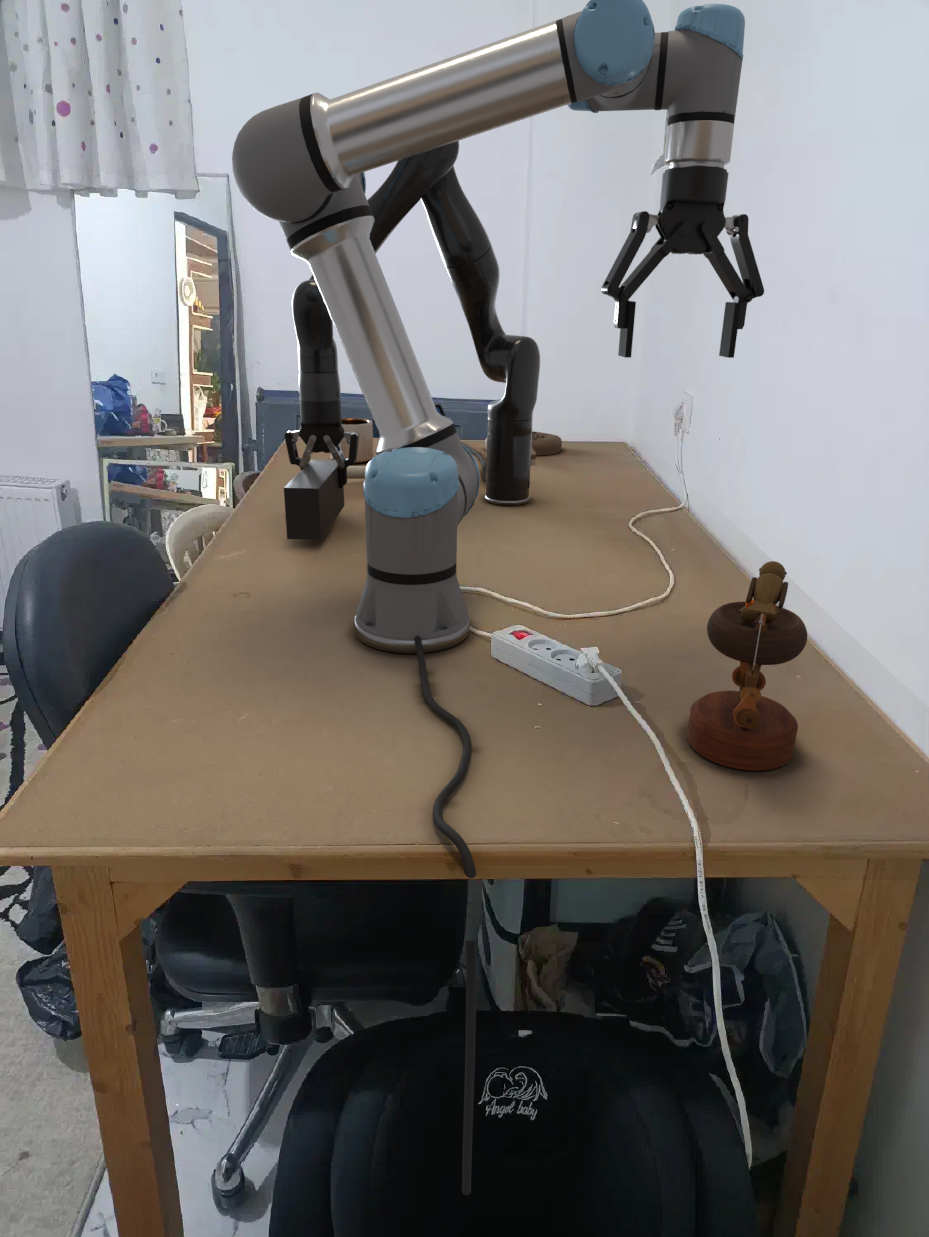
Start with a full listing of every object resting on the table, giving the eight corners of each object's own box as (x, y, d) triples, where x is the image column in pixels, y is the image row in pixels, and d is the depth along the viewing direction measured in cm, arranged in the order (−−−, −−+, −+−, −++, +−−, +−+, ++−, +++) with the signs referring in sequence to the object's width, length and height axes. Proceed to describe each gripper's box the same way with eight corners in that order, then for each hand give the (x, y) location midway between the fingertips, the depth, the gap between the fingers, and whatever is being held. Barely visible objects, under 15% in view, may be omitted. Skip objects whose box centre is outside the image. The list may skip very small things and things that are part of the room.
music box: (815, 783, 80) (835, 585, 73) (696, 783, 82) (704, 589, 74) (778, 707, 94) (791, 534, 87) (677, 708, 96) (682, 538, 88)
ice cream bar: (490, 464, 211) (490, 447, 209) (483, 443, 237) (483, 428, 235) (573, 465, 212) (575, 448, 210) (557, 444, 238) (558, 429, 236)
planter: (327, 456, 217) (325, 418, 214) (369, 454, 220) (368, 417, 217) (334, 465, 208) (332, 425, 204) (377, 463, 211) (376, 424, 207)
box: (321, 540, 145) (318, 488, 142) (287, 539, 146) (283, 487, 142) (344, 506, 167) (342, 460, 163) (314, 505, 167) (312, 459, 163)
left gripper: (779, 174, 104) (753, 354, 112) (584, 167, 100) (572, 353, 109) (811, 168, 97) (782, 359, 106) (603, 160, 94) (589, 359, 102)
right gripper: (362, 394, 158) (365, 483, 165) (286, 393, 159) (291, 481, 165) (355, 400, 151) (358, 492, 158) (276, 398, 152) (282, 490, 158)
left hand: (675, 357), depth 107 cm, fingers open, 13 cm apart
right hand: (324, 486), depth 161 cm, fingers closed on box, 6 cm apart
